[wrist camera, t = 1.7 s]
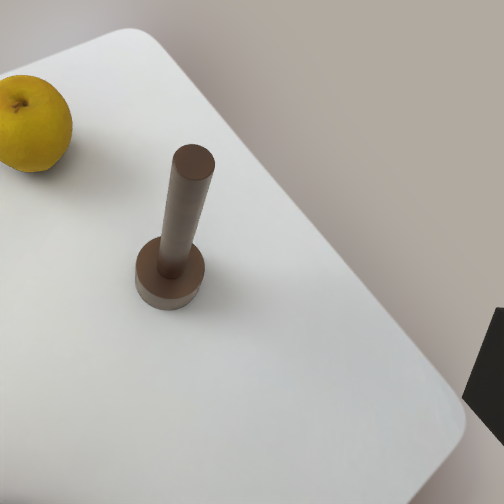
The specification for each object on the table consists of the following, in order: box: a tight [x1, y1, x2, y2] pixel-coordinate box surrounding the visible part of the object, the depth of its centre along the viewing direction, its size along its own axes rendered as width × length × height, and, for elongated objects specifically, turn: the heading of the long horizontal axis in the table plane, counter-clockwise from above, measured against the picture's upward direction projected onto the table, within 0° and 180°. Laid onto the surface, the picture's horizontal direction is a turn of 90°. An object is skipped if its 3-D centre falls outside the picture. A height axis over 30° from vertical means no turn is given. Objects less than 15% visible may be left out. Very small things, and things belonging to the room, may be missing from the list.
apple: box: [0, 75, 72, 172], centre depth 36 cm, size 6×6×8 cm
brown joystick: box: [135, 144, 215, 310], centre depth 30 cm, size 5×5×17 cm
